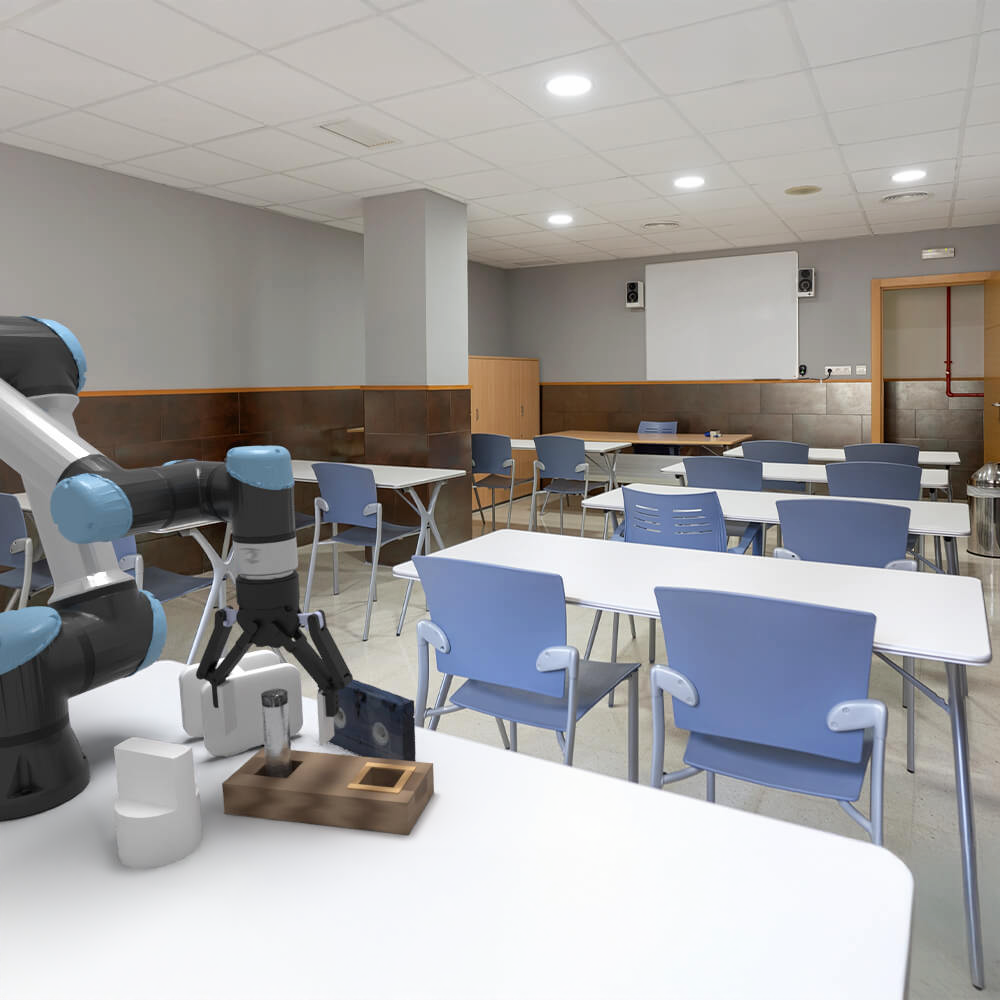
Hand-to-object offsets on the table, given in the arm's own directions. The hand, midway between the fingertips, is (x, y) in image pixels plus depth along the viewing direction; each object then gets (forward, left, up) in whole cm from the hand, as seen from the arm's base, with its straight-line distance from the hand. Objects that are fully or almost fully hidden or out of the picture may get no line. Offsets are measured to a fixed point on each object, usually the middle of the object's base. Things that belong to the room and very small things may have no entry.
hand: (277, 735), depth 103 cm
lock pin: (0, 0, -8) cm, 8 cm away
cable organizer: (-14, +15, -9) cm, 22 cm away
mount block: (+7, 0, -8) cm, 11 cm away
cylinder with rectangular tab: (-9, -12, -9) cm, 17 cm away
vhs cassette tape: (+6, +14, -9) cm, 18 cm away
